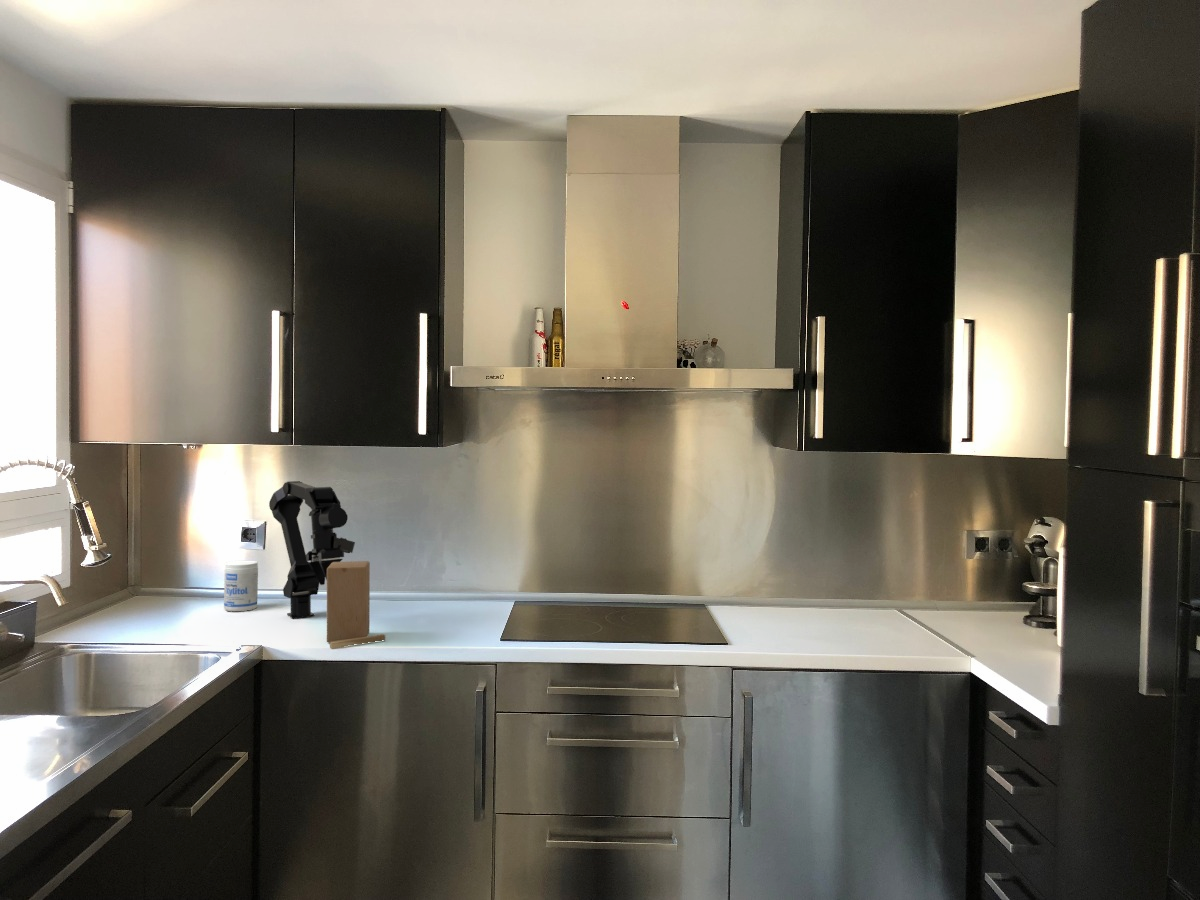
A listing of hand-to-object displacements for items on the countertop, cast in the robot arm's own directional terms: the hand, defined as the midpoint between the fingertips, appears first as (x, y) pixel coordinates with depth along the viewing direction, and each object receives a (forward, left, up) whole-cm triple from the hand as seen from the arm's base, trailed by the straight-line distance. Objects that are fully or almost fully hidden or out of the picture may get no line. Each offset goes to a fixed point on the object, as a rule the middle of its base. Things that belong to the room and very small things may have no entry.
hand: (326, 584), depth 222 cm
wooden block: (+17, +1, -12) cm, 21 cm away
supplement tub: (-37, -16, -12) cm, 42 cm away
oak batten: (+25, +1, -12) cm, 27 cm away
